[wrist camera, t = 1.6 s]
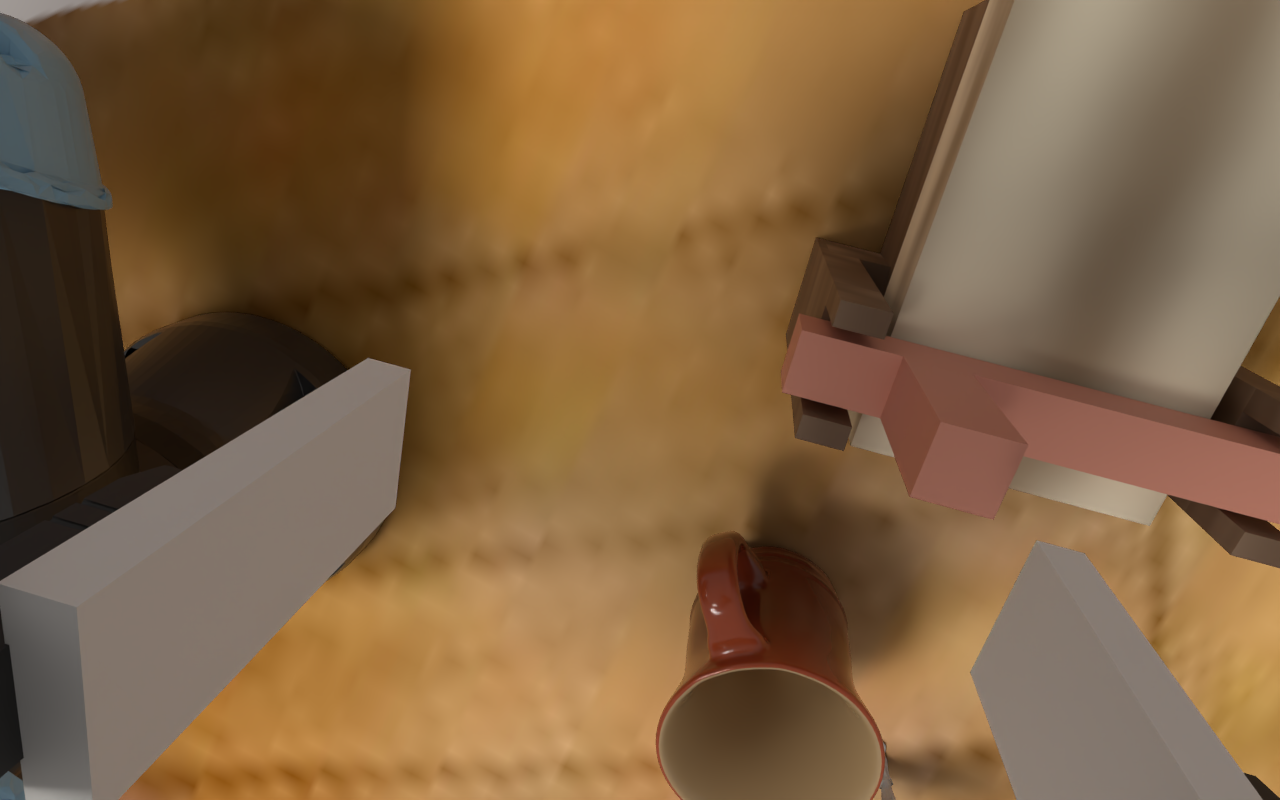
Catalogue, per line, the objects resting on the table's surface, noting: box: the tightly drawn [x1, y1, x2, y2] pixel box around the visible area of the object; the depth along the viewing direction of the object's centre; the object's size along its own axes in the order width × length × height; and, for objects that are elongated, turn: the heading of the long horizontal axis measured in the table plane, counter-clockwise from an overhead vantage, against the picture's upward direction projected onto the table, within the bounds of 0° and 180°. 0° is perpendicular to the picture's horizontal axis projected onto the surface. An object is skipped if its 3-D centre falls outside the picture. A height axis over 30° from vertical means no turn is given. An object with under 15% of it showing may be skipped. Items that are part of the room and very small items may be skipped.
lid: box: [848, 0, 1280, 526], centre depth 24 cm, size 10×15×3 cm, turn 167°
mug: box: [656, 531, 885, 800], centre depth 33 cm, size 12×9×10 cm
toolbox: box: [786, 0, 1280, 568], centre depth 25 cm, size 14×14×12 cm
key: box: [781, 313, 1280, 524], centre depth 20 cm, size 16×2×7 cm, turn 77°
